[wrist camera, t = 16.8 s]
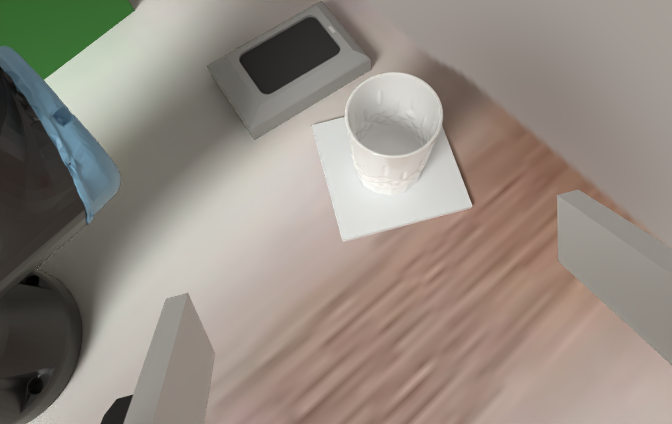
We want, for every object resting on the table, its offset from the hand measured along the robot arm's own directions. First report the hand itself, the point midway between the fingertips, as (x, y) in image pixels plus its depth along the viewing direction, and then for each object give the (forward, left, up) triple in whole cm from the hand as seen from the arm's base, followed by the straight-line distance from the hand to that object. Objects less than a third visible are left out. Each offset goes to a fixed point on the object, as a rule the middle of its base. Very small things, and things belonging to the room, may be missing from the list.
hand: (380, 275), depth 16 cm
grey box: (-1, +29, -28) cm, 41 cm away
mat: (+6, +16, -28) cm, 32 cm away
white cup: (+6, +16, -27) cm, 32 cm away
